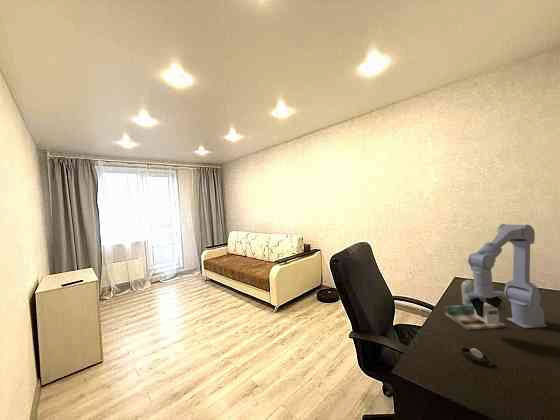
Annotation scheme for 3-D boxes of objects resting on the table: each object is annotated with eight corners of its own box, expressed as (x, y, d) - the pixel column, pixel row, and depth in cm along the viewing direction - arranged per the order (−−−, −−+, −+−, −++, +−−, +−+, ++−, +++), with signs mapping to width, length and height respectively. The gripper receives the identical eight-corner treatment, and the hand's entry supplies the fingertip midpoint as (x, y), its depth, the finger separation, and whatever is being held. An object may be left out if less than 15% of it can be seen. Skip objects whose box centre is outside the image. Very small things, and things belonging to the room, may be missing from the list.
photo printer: (468, 299, 125) (466, 277, 125) (478, 301, 121) (475, 279, 121) (461, 305, 119) (459, 282, 119) (471, 307, 116) (469, 284, 116)
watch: (491, 363, 77) (490, 352, 77) (487, 369, 75) (486, 358, 75) (464, 352, 84) (463, 342, 84) (459, 357, 81) (458, 347, 81)
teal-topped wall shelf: (478, 312, 110) (477, 303, 110) (505, 327, 96) (504, 316, 96) (445, 314, 111) (444, 305, 111) (468, 329, 97) (467, 319, 97)
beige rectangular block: (485, 315, 94) (484, 301, 94) (500, 323, 88) (499, 308, 88) (474, 316, 94) (473, 302, 94) (488, 324, 88) (487, 309, 88)
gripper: (491, 278, 95) (494, 309, 95) (457, 280, 96) (460, 312, 96) (508, 283, 88) (511, 317, 88) (471, 286, 88) (474, 320, 88)
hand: (486, 315), depth 91 cm, fingers closed on beige rectangular block, 4 cm apart
